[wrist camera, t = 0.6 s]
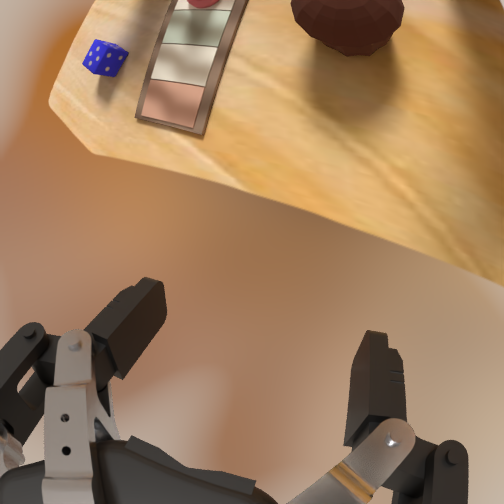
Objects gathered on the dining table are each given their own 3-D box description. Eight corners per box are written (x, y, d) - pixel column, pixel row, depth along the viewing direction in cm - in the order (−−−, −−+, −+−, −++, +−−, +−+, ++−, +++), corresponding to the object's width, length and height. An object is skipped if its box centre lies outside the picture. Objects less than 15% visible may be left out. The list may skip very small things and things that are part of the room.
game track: (183, -20, 31) (180, -22, 30) (256, -22, 27) (254, -24, 27) (137, 117, 41) (133, 117, 40) (203, 135, 38) (200, 134, 37)
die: (115, 43, 38) (94, 38, 34) (129, 52, 38) (107, 47, 34) (102, 67, 41) (81, 64, 36) (115, 77, 40) (93, 74, 36)
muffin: (373, -17, 23) (367, -61, 14) (416, 51, 24) (429, 16, 16) (290, 11, 28) (263, -27, 19) (327, 79, 30) (310, 51, 21)
